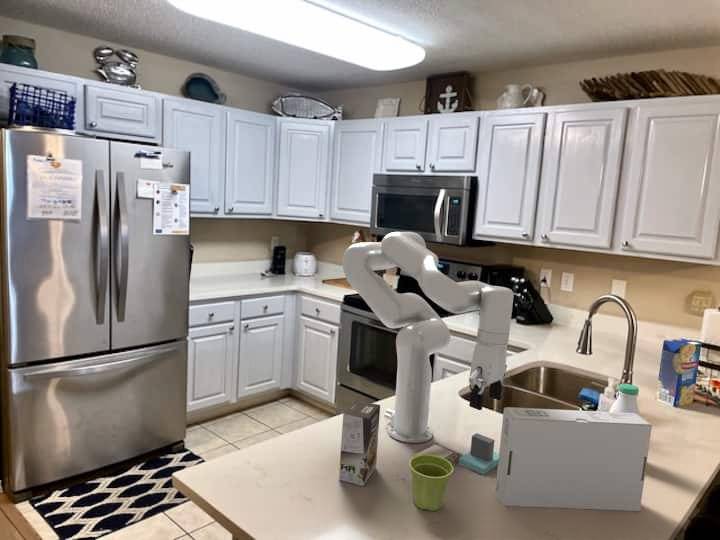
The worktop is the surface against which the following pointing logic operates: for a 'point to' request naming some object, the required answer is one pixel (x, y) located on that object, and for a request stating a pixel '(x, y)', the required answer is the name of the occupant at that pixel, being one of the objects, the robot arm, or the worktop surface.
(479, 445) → the block on base
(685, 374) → the blue tall rectangular box
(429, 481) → the plant pot
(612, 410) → the milk bottle
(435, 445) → the ticket board
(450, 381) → the worktop surface
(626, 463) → the packaging
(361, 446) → the coffee box
